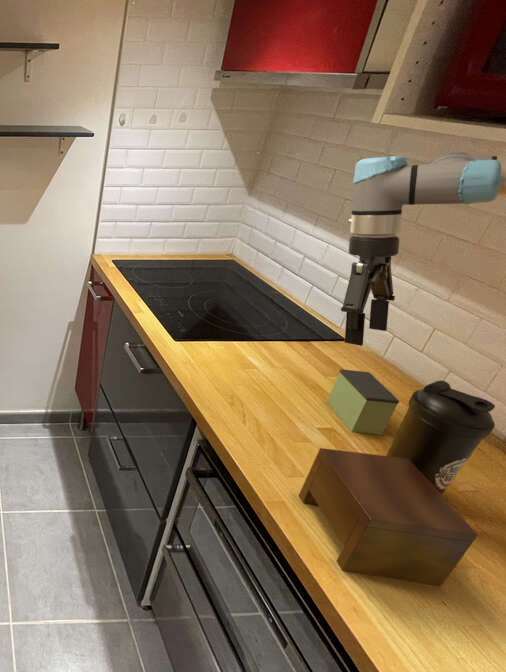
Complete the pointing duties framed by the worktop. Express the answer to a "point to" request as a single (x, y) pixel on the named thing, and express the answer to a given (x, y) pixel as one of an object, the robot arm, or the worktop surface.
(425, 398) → the water bottle
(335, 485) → the walnut shelf
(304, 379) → the worktop surface
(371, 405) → the box
